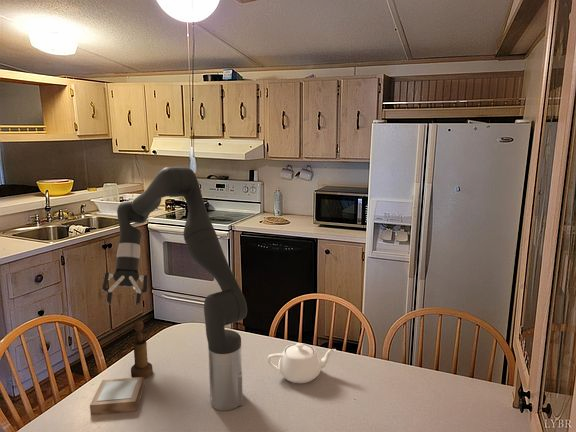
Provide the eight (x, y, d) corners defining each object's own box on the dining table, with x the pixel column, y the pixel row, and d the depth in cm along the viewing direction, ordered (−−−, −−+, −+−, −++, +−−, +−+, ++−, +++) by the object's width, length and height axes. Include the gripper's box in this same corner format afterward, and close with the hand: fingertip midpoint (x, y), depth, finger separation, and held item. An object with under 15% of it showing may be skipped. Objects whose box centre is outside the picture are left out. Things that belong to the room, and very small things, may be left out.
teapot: (268, 389, 126) (267, 356, 124) (267, 364, 140) (266, 335, 138) (339, 386, 128) (340, 354, 126) (331, 362, 141) (332, 333, 139)
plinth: (144, 385, 128) (143, 376, 127) (136, 410, 116) (135, 400, 116) (103, 389, 126) (102, 379, 125) (90, 415, 114) (89, 404, 114)
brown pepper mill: (156, 368, 137) (152, 317, 134) (147, 380, 131) (143, 326, 127) (136, 367, 138) (132, 316, 134) (127, 378, 131) (123, 325, 128)
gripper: (107, 254, 139) (101, 303, 134) (151, 257, 145) (146, 304, 141) (105, 257, 145) (99, 304, 141) (147, 260, 152) (143, 306, 147)
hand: (123, 304), depth 141 cm, fingers open, 8 cm apart
